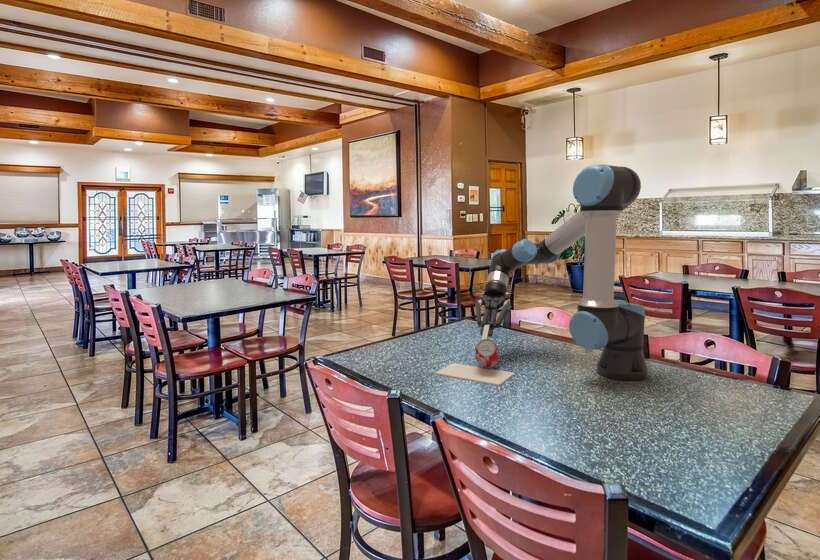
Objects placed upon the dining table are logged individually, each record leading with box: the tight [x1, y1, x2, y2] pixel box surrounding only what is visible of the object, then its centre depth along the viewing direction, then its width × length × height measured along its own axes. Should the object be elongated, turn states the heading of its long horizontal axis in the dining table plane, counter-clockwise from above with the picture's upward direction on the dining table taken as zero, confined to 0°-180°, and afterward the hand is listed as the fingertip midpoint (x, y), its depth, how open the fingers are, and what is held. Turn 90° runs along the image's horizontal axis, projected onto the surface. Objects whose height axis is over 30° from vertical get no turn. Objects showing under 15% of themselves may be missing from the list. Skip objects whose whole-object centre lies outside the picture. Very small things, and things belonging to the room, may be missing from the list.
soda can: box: [475, 338, 499, 369], centre depth 163 cm, size 7×7×12 cm
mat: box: [434, 362, 515, 387], centre depth 161 cm, size 22×13×1 cm, turn 58°
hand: (484, 343), depth 165 cm, fingers closed
